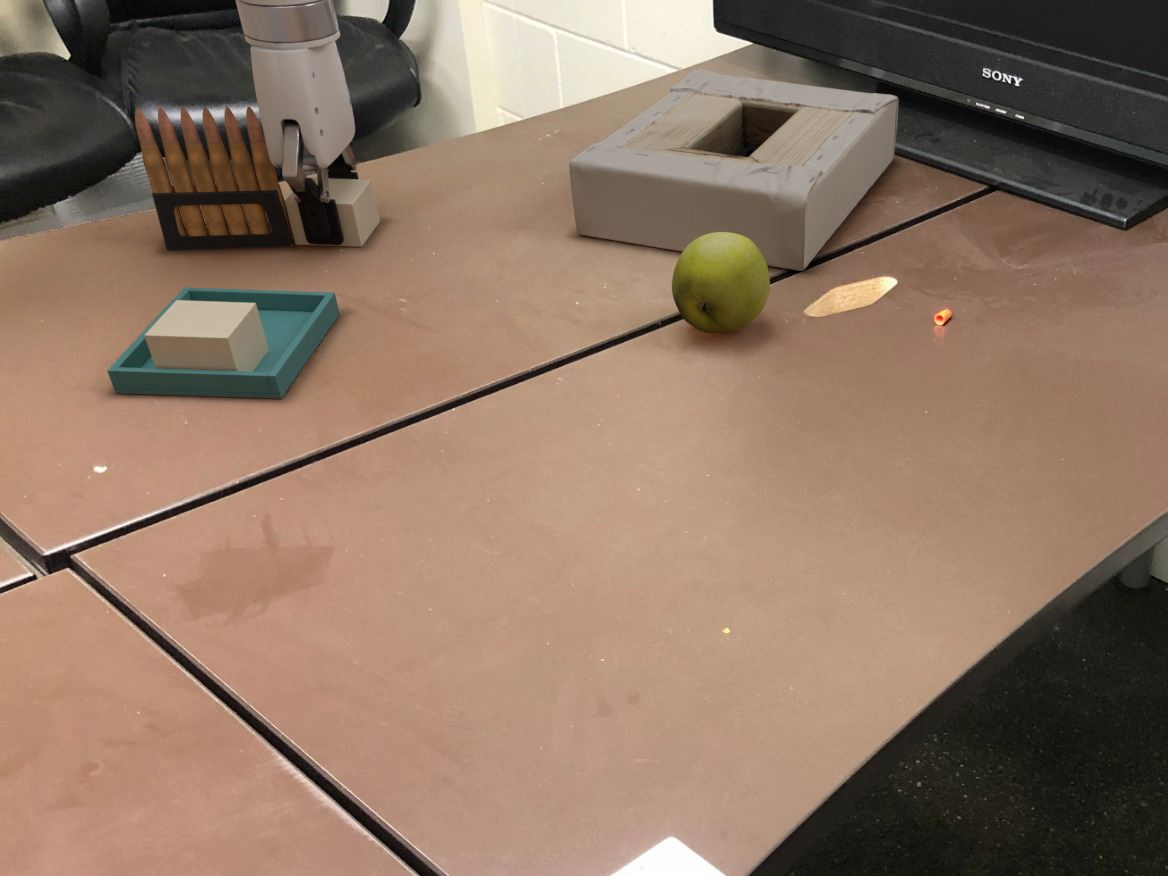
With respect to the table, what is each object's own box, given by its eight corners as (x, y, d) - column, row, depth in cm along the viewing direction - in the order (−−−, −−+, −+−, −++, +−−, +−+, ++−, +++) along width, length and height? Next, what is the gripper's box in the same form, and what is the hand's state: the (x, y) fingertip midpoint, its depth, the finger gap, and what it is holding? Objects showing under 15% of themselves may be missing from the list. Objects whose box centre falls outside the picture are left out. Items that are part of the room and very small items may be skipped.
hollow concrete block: (810, 276, 121) (897, 159, 145) (809, 191, 116) (900, 85, 140) (574, 244, 125) (697, 135, 149) (563, 160, 120) (692, 62, 144)
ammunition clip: (296, 238, 122) (262, 102, 114) (293, 246, 121) (258, 109, 113) (170, 242, 120) (127, 104, 113) (166, 250, 119) (122, 111, 111)
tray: (115, 393, 99) (106, 370, 98) (190, 308, 111) (183, 286, 109) (281, 398, 100) (275, 375, 99) (340, 313, 111) (334, 292, 110)
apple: (784, 313, 115) (783, 222, 110) (748, 359, 108) (745, 265, 103) (700, 299, 116) (695, 209, 111) (658, 344, 110) (651, 250, 104)
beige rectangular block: (295, 244, 121) (284, 201, 119) (315, 219, 126) (305, 177, 123) (362, 247, 121) (352, 203, 119) (380, 221, 126) (371, 179, 123)
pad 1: (160, 384, 100) (143, 334, 97) (191, 347, 105) (176, 299, 102) (242, 386, 100) (227, 337, 98) (269, 350, 105) (256, 302, 102)
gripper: (278, -10, 118) (325, 193, 130) (204, 46, 105) (264, 265, 117) (364, -6, 118) (403, 196, 130) (301, 50, 105) (351, 268, 117)
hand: (337, 226), depth 123 cm, fingers closed on beige rectangular block, 6 cm apart
